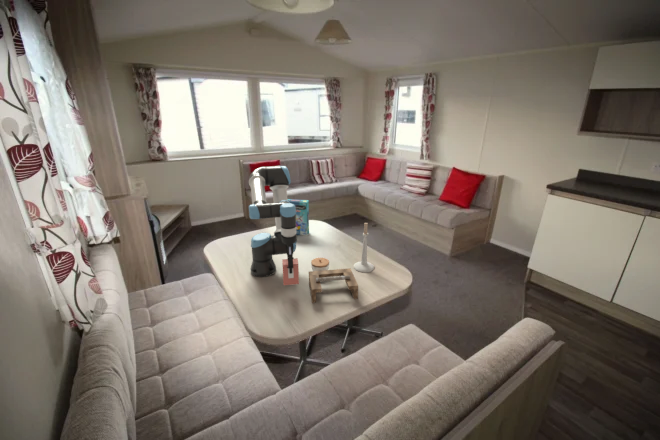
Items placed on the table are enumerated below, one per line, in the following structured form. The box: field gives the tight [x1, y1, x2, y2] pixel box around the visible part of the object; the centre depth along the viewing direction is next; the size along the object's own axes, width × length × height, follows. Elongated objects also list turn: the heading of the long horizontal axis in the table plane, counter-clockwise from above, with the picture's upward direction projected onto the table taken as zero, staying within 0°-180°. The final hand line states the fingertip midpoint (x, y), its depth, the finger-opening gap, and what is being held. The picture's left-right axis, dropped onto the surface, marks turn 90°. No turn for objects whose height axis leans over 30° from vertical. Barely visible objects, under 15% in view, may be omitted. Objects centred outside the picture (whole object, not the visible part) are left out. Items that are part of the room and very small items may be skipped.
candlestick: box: [353, 222, 375, 273], centre depth 186 cm, size 13×13×30 cm
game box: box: [287, 198, 310, 236], centre depth 237 cm, size 20×6×27 cm, turn 81°
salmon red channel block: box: [281, 257, 300, 286], centre depth 160 cm, size 8×6×12 cm
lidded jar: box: [310, 257, 330, 271], centre depth 183 cm, size 11×11×9 cm
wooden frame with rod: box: [308, 267, 359, 304], centre depth 165 cm, size 24×18×10 cm
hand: (290, 274), depth 161 cm, fingers closed on salmon red channel block, 6 cm apart
